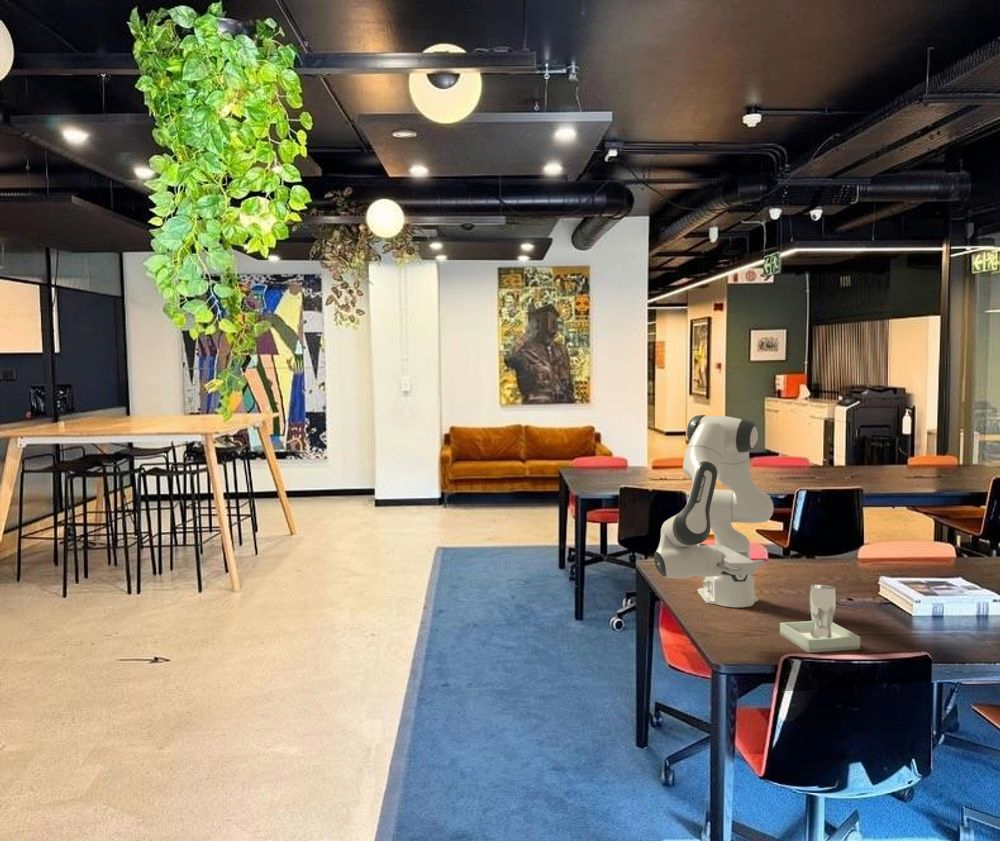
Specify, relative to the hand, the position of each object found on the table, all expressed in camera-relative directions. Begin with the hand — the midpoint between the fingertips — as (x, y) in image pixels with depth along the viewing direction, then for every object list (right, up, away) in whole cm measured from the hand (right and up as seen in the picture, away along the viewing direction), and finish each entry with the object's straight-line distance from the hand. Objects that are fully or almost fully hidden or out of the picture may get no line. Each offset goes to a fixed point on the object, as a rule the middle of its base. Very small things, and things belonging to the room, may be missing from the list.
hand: (755, 558), depth 211 cm
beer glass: (+19, -24, 0) cm, 31 cm away
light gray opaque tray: (+19, -25, +1) cm, 31 cm away
